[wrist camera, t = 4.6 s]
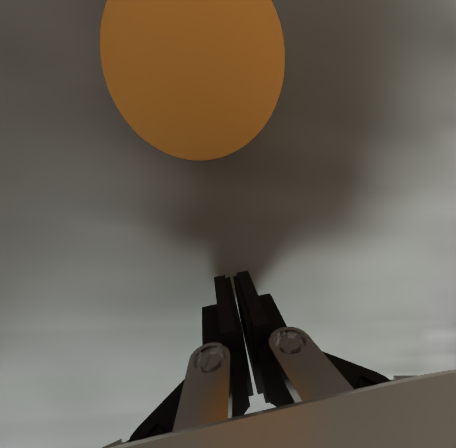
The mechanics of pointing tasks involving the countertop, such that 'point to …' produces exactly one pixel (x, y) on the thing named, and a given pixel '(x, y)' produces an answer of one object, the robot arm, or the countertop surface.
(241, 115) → the ball
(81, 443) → the countertop surface
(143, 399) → the countertop surface
